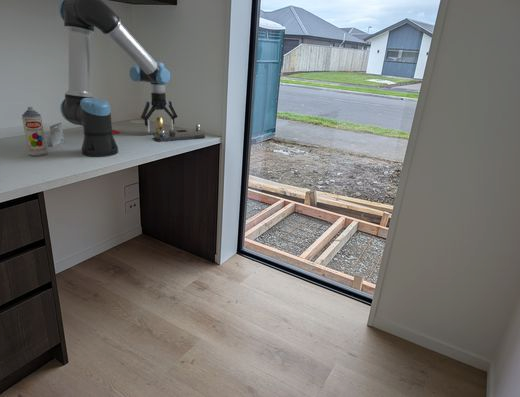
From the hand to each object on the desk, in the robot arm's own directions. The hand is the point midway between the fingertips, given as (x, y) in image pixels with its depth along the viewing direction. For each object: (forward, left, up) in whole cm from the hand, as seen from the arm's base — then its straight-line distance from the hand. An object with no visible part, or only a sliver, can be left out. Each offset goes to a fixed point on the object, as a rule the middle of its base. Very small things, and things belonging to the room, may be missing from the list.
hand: (160, 131), depth 205 cm
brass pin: (0, 0, -2) cm, 2 cm away
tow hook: (-23, +14, -3) cm, 27 cm away
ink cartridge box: (-53, -5, -3) cm, 53 cm away
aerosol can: (-62, -22, -2) cm, 66 cm away
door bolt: (+8, -12, -2) cm, 15 cm away
